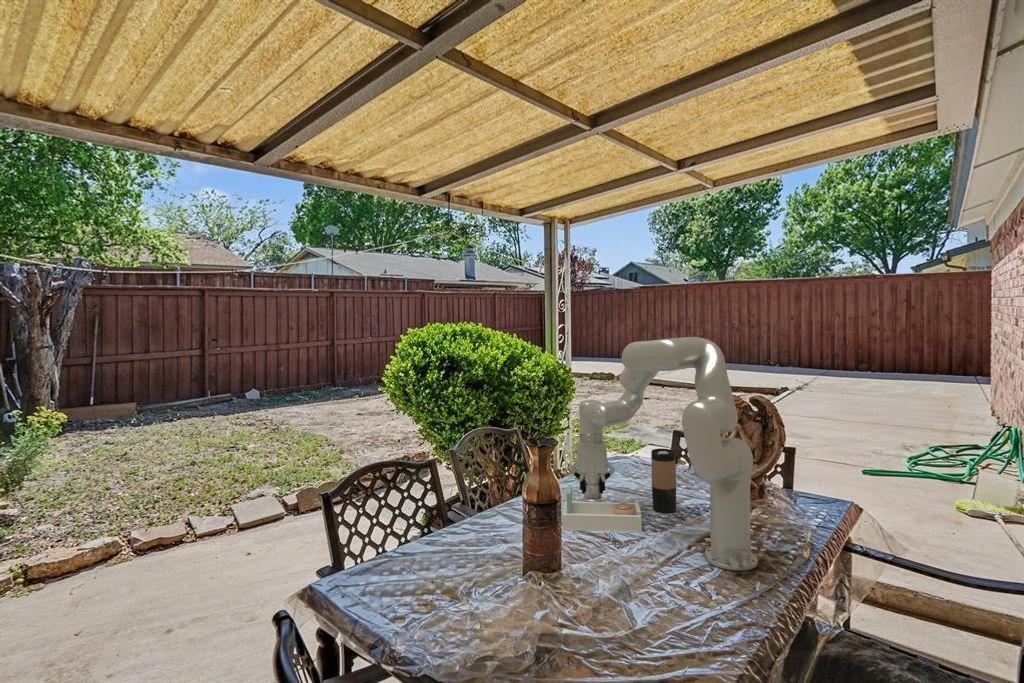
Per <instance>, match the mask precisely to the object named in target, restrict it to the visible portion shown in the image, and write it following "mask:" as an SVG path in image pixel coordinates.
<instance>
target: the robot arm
mask: <svg viewBox="0 0 1024 683" xmlns="http://www.w3.org/2000/svg"><path fill="white" fill-rule="evenodd" d="M621 361H622V365H623V367H624V369H623V370H622V371H621V373H620V374H619V376H618V379H619V383H620V384H621V386H622V387H623V389H625V390H624V392H623V393H622V395H621V396H620V397H619V398H618V400H611V401H606V402H601V401H599V400H596V399H584V400H581V401H580V402H579V403H578V404H579V405H578V411H579V412H578V417H579V418H578V419H579V420H578V424H579V433H578V434H575V436H574V437H575V439H578V440H579V441H578V442H577V444H576V452H575V453H576V454H575V456H576V458H575V459H576V460H575V461H574V463H572V465H571V466H570V467H569V469H568V470H569V472H570V473H571V474H572V475H574V477H575V478H576V479H578V481H579V491H581V494H583V495H584V474H587V473H589V472H588V469H589V467H594V468H596V473H597V474H601V475H600V476H601V494H602V495H603V494H604V491H606V481H607V480H608V479H610V477H611V476H612V475H614V474H615V473H616V468H615V467H614V466H613V465H612V464H611V463H610V462H609V461H608V460H609V459H608V450H607V445H606V442H605V441H604V430H603V428H607V427H612V426H615V425H620V424H625V423H627V422H629V421H630V420H631V419H632V418H633V417H634V416H635V415H636V414H637V412H638V411H639V410H640V408H641V407H642V405H643V402H644V396H645V392H644V391H645V390H646V388H647V387H648V386H649V384H650V383H651V382H652V381H653V380H654V378H656V376H657V375H658V373H660V372H670V371H672V372H673V371H679V370H687V369H695V373H694V387H695V390H696V396H697V400H694V401H692V402H690V403H688V404H687V405H686V407H685V408H684V410H683V412H682V417H681V425H682V430H683V436H684V440H685V444H686V448H687V454H688V458H689V462H690V465H691V468H692V470H693V473H694V474H695V475H696V477H698V478H699V479H700V480H701V481H703V482H705V483H707V484H709V483H710V487H709V489H710V490H709V491H710V492H709V505H710V506H709V508H710V510H709V511H710V512H709V513H710V518H709V519H710V546H709V547H708V548H707V549H705V551H704V558H705V560H706V561H707V562H708V563H709V564H711V565H712V566H715V567H718V568H720V569H723V570H728V571H739V572H744V571H749V570H753V569H754V568H757V566H758V561H759V560H758V557H757V555H756V554H754V553H753V552H752V551H751V550H752V549H751V548H752V544H751V541H752V539H751V537H752V536H751V535H752V534H751V481H752V474H753V467H754V457H753V456H754V455H753V453H752V450H751V448H750V446H749V445H748V444H747V443H746V441H744V440H742V439H740V438H737V437H732V436H731V437H723V438H722V437H721V435H722V434H725V433H728V432H731V431H732V430H733V429H735V428H736V426H737V424H738V420H739V416H738V410H737V407H736V403H735V399H734V394H733V391H732V387H731V383H730V380H729V375H728V369H727V366H726V360H725V355H724V353H723V352H722V350H721V348H720V346H719V345H717V344H716V343H715V342H713V341H711V340H709V339H707V338H704V337H699V336H698V337H697V336H688V337H687V336H685V337H674V338H662V339H655V340H653V339H652V340H643V341H633V342H630V343H629V344H627V345H626V346H625V347H624V349H623V351H622V352H621ZM608 470H609V471H608Z"/></svg>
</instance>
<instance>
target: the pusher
mask: <svg viewBox="0 0 1024 683" xmlns="http://www.w3.org/2000/svg"><path fill="white" fill-rule="evenodd" d="M572 487H573V486H572V484H567V488H566V501H567V514H572V502H573V493H572V492H573V488H572Z"/></svg>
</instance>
